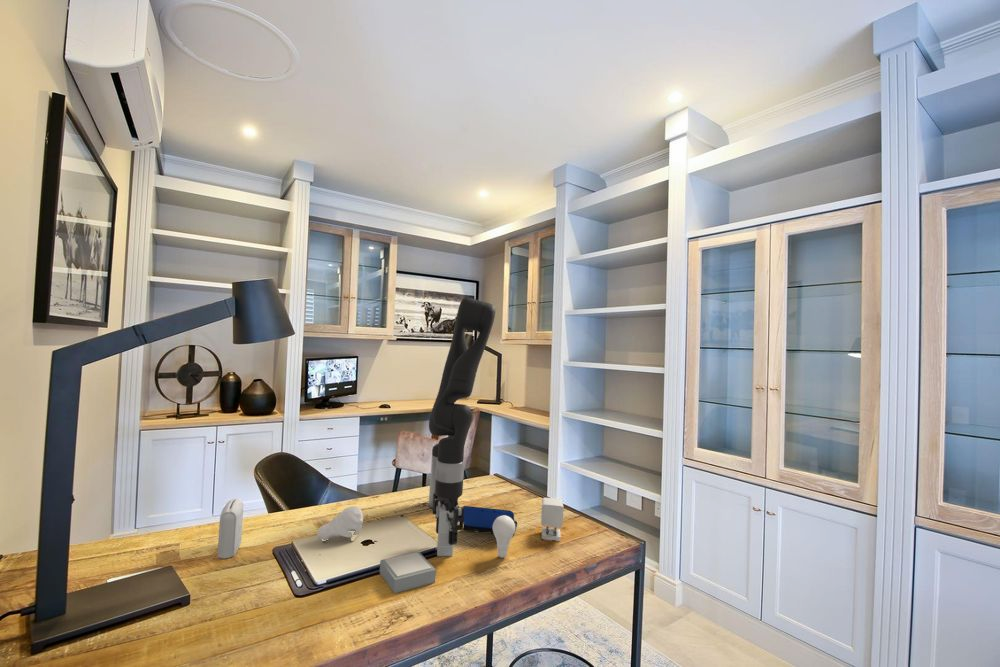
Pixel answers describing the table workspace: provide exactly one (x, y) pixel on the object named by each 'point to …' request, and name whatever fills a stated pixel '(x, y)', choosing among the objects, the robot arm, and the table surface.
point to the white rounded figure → (343, 524)
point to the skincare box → (444, 534)
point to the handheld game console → (483, 518)
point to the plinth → (407, 572)
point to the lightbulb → (503, 533)
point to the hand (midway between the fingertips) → (446, 538)
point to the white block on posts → (552, 518)
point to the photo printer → (230, 528)
